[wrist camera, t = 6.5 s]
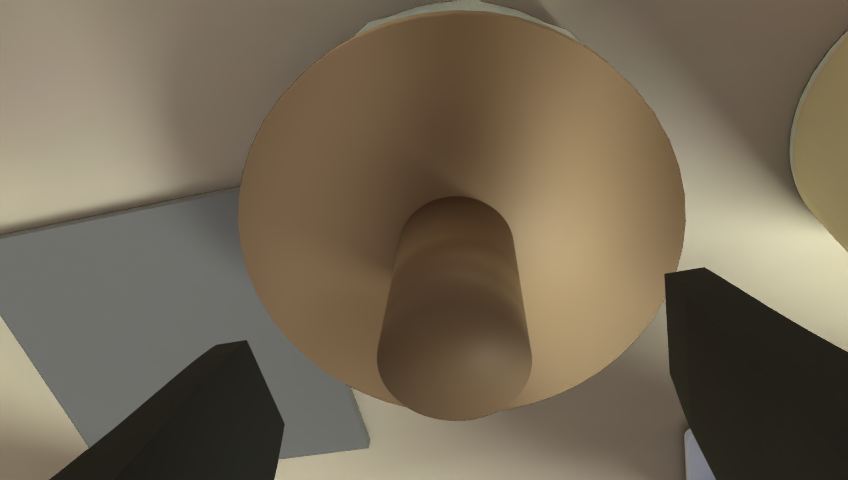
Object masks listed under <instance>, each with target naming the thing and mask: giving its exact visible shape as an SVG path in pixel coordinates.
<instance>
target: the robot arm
mask: <svg viewBox="0 0 848 480" xmlns="http://www.w3.org/2000/svg"><path fill="white" fill-rule="evenodd" d="M664 278H665V296H666V313H667V331H668V348H669V366H670V375H671V378H672V380H673V383H674V386H675V389H676V392H677V394H678V397H679V400H680V403H681V406H682V408H683V411H684V414H685V416H686V419H687V422H688V424H689V427H690V428H689V429H688V430H687V431H686V432H685V436H684V442H685V464H686V480H848V352H846V351H844V350H843V349H841V348H839V347H837V346H835V345H833V344H832V343H830V342H828V341H826V340H824V339H823V338H821V337H819V336H817V335H815V334H814V333H812V332H810V331H808V330H807V329H805V328H803V327H801V326H800V325H798V324H796V323H795V322H793V321H791V320H790V319H788V318H786V317H784V316H783V315H781V314H779V313H778V312H776V311H774V310H773V309H771V308H769V307H768V306H766V305H765V304H763V303H761V302H760V301H758V300H757V299H755V298H753V297H752V296H750V295H748V294H747V293H745V292H744V291H742V290H740V289H739V288H737V287H736V286H734V285H732V284H731V283H729V282H728V281H726V280H725V279H723V278H721V277H720V276H718V275H716V274H715V273H713V272H711V271H710V270H708V269H706V268H705V267H704V268H698V269H691V270H685V271H679V272H672V273H666V274H664ZM284 426H285V423H284V421H283V419H282V417H281V414H280V412H279V410H278V408H277V406H276V403H275V401H274V399H273V397H272V395H271V392H270V390H269V388H268V386H267V383H266V381H265V379H264V377H263V375H262V372H261V370H260V368H259V366H258V363H257V361H256V359H255V357H254V355H253V352H252V350H251V348H250V346H249V344H248V341H247V340H243V341H237V342H230V343H224V344H218V345H215V346H213V347H212V348H211V349H209V350H208V351H206V352H205V353H203V354H202V355H201V356H200V357H198V358H197V359H196V360H194V361H193V362H192V363H191V364H189V365H188V366H187V367H186V368H185V369H183V370H182V371H181V372H180V373H179V374H177V375H176V376H175V377H174V378H173V379H171V380H170V381H169V382H168V383H167V384H166V385H164V386H163V387H162V388H161V389H160V390H159V391H157V392H156V393H155V394H154V395H153V396H151V397H150V398H149V399H148V400H147V401H146V402H144V403H143V404H142V405H141V406H140V407H139V408H137V409H136V410H135V411H134V412H133V413H131V414H130V415H129V416H128V417H127V418H126V419H124V420H123V421H122V422H121V423H120V424H118V425H117V426H116V427H115V428H114V429H112V430H111V431H110V432H109V433H107V434H106V435H105V436H104V437H102V438H101V439H100V440H99V441H97V442H96V443H95V444H94V445H92V446H91V447H90V448H89V449H87V450H86V451H85V452H84V453H82V454H81V455H80V456H79V457H77V458H76V459H75V460H74V461H72V462H71V463H70V464H69V465H67V466H66V467H65V468H64V469H62V470H61V471H60V472H59V473H57V474H56V475H55V476H53V477H52V478H51V479H49V480H274V478H275V473H276V468H277V464H278V459H279V454H280V449H281V443H282V438H283V432H284Z"/></svg>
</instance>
